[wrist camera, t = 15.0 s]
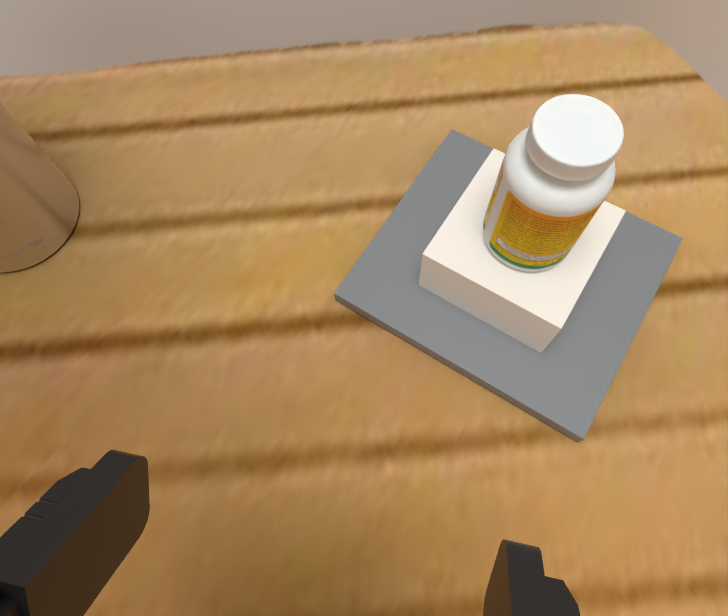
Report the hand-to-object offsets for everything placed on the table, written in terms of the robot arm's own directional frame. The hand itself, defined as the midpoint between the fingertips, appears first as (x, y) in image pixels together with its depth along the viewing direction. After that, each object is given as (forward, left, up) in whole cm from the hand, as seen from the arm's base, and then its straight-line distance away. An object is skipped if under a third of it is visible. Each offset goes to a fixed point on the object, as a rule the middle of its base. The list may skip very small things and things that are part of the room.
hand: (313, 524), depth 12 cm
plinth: (-11, +16, -21) cm, 29 cm away
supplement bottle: (-11, +16, -17) cm, 26 cm away
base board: (-11, +16, -22) cm, 30 cm away
